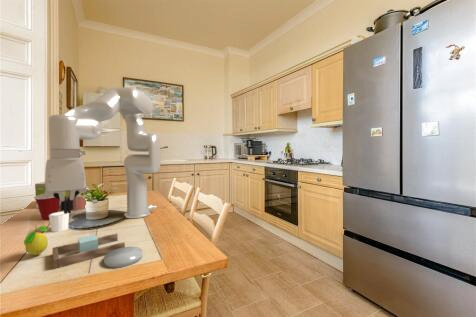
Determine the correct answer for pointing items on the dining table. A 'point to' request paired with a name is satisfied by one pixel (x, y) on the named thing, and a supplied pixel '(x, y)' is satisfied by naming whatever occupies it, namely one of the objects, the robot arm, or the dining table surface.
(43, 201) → the plastic cup
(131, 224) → the dining table surface
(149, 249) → the dining table surface
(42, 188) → the tea box
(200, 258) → the dining table surface
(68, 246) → the frame
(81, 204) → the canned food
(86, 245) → the teal cube
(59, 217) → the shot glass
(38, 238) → the lemon
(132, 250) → the grey round disc
